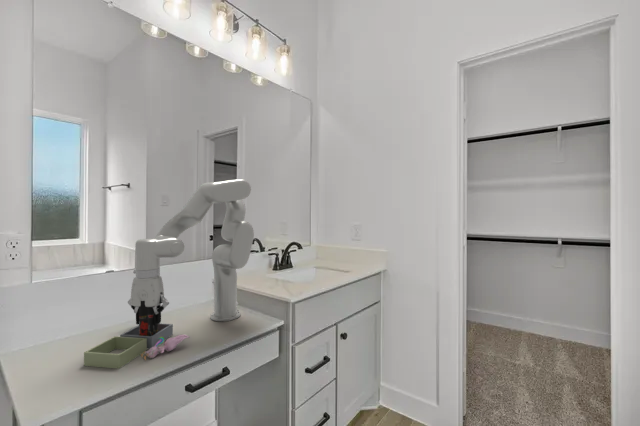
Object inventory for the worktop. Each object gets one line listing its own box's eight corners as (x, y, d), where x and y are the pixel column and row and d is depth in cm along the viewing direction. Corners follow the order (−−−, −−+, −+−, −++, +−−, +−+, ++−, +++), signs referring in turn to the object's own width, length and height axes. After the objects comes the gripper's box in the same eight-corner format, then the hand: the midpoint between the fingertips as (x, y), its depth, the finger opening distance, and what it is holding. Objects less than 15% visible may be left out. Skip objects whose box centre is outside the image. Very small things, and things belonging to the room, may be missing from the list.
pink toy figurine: (148, 367, 94) (193, 343, 105) (144, 349, 93) (191, 327, 104) (139, 360, 98) (185, 338, 109) (136, 343, 97) (182, 322, 108)
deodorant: (161, 338, 110) (161, 297, 110) (144, 345, 105) (144, 302, 105) (152, 335, 113) (152, 295, 113) (135, 341, 108) (135, 299, 108)
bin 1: (114, 348, 103) (114, 336, 103) (146, 350, 102) (146, 338, 102) (83, 365, 91) (83, 352, 91) (119, 368, 90) (119, 355, 90)
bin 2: (144, 332, 116) (144, 322, 116) (172, 334, 114) (172, 324, 114) (120, 346, 104) (120, 335, 104) (151, 349, 103) (151, 337, 103)
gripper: (117, 275, 106) (118, 326, 107) (163, 276, 104) (164, 329, 104) (133, 270, 114) (134, 318, 114) (176, 271, 111) (177, 320, 112)
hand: (148, 323), depth 109 cm, fingers closed on deodorant, 5 cm apart
